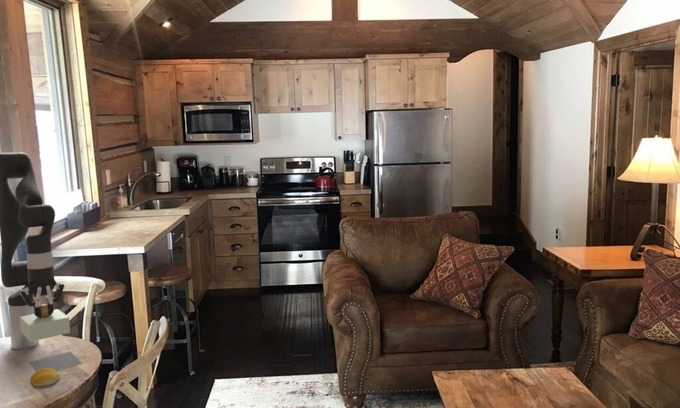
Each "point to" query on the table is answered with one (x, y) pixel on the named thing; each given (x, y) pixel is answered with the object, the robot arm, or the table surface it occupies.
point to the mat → (56, 362)
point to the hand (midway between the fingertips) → (44, 315)
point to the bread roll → (44, 377)
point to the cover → (44, 324)
